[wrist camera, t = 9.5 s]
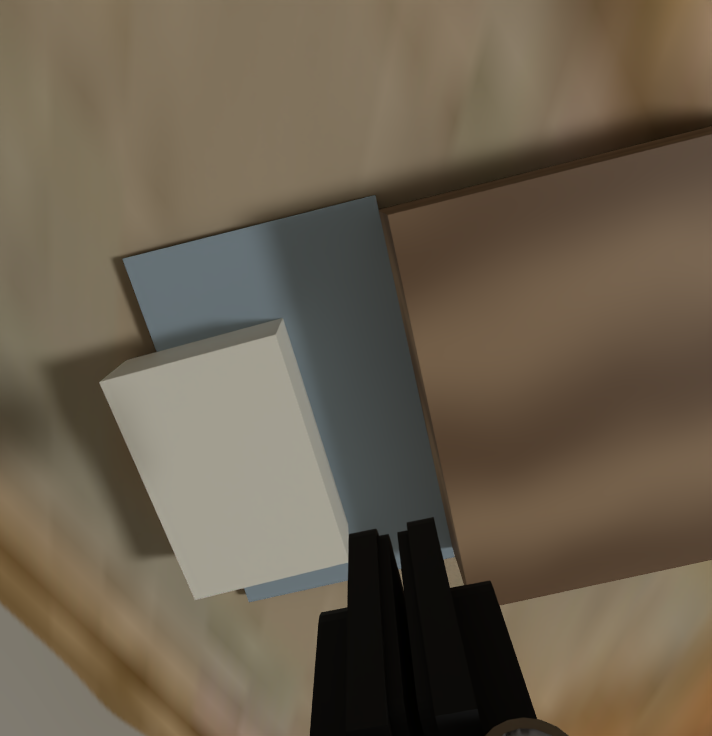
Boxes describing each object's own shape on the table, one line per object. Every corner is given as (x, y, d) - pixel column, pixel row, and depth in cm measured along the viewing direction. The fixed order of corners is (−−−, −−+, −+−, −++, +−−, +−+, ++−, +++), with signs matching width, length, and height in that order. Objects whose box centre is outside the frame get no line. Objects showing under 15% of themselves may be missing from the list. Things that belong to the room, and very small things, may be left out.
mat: (125, 257, 19) (122, 258, 19) (374, 195, 19) (375, 195, 19) (250, 597, 24) (249, 602, 24) (453, 552, 24) (454, 556, 23)
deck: (378, 209, 19) (387, 214, 15) (784, 108, 19) (898, 87, 15) (450, 542, 24) (472, 611, 20) (782, 469, 23) (871, 525, 19)
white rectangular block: (275, 334, 18) (282, 317, 20) (98, 382, 18) (125, 360, 20) (349, 562, 20) (348, 524, 23) (195, 599, 21) (209, 559, 23)
